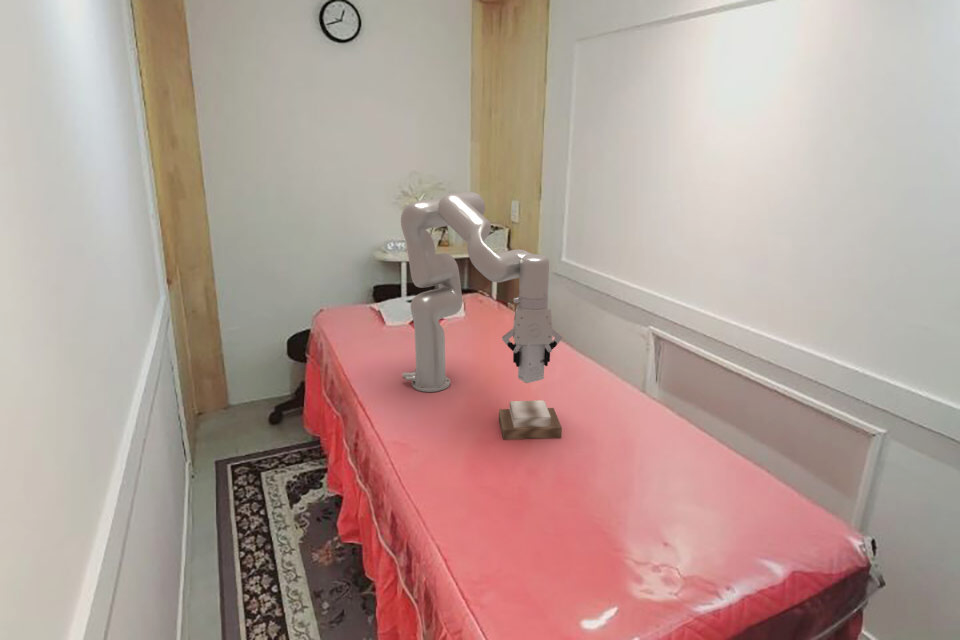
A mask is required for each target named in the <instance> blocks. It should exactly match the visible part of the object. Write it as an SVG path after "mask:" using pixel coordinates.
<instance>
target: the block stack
mask: <svg viewBox="0 0 960 640" xmlns="http://www.w3.org/2000/svg"><path fill="white" fill-rule="evenodd" d="M498 420H499V426H500V431H501V435H502V439H503V440H531V439H562V434H563V433H562V432H563V431H562V430H563V428H562V427H563V426H562V425H561V423H560V420H559V418H558V415H557V413H556V411H555V408H554V407H548V406H547V403H546V402H545V400H543V399H542V400H541V399H540V400H512V401H511V400H510V401H509V408H504V409H503V408H501V409H498Z"/></svg>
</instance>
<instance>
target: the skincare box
mask: <svg viewBox="0 0 960 640" xmlns="http://www.w3.org/2000/svg"><path fill="white" fill-rule="evenodd" d="M519 353H520V360H519V367H517V369H518V371H517V378H518V379H519V380H520V381H522V382H523V383H525V384H531V383H534V382H538V381H541V380H543V379H544V378H545V365H544V359H545V346H544V345H530V341H528V345H521V347H520V349H519Z"/></svg>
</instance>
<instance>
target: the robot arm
mask: <svg viewBox="0 0 960 640" xmlns="http://www.w3.org/2000/svg"><path fill="white" fill-rule="evenodd" d="M485 212H486V204H485V201H484V199H483V197H482V196H481V195H480V194H479V193H476V192H474V191H463V192H453V193H449V194H446V195H444V196H443V197H440V198H431V199H430V198H429V199H422V200H417V201H413V202H411V203H409V204H407V205H406V206H405V207H404V209H403V210H402V213H401V217H400V227H401V230H402V233H403V234H402V235H403V237H404V239H405V240H404V241H405V243H406V248H407V257H408V263H409V270H410V276H411V280H412V283H413V285H414V286H415V287H417V288H423V289H424V288H430V287H433V286H437V285H438V288H436V289H431V290H427V291H423V292H420V293H418V294H416V295H415V296H414V297H412V298H413V299H411V301H410V312H411V313H410V314H411V316H412V321H413V326H414V327H413V328H414V343H415V345H414V347H415V348H414V349H415V350H414V351H415V370H414V371H412V372H402V379H405V381H406V382H407V381H411V386H412V388H414V389H415V390H417V391H419V392H423V393H435V392H440V391H444V390H446V389H447V388H449V386H450V385H451V379H450V378H449V377H448V376H446V340H445V339H446V337H445V331H444V328H443V327H442V325H441V323H440V320H442V319H443V318H447V317H448V318H449V317H452V316H454V315H457V314H458V313H459V312H460V311H461V310H462V306H463V294H462V287H461V279H460V272H459V271H460V270H459V269H460V268H459V266H458V263H457V261H456V260H455V258H454V257H453V256H452V255H451V254H449V253H445V252H444V253H443V252H442V253H441V252H440V253H437V252H436V246H435V241H434V238H433V237H432V235H431V234H430V232H429V231H428V229H434V228H441V227H448V226H449V228H452V230H453V231H454V232H456V234H458V235H459V236H460V238H462V240H464V241H465V242H466V245H467V246H466V247H467V255H468V258H469V260H470V262H471V264H472V265H473V266H474V268H475V269H476V270H477V271H478V272H480V274H482V276H484V277H485V278H486V279H487V280H489V281H490V282H493V283H503V282H506V281H511V280H515V279H519V283H518V284H519V287H518V288H519V291H518V292H519V293H518V296H517V297H513V303H514V304H517V305H516V308H515V312H514V320H513V327H512V329H510V330H508V332H506V333H505V334H504V335H502V337H501V339H502V341H503V342H504V343H505V345H507V347H508V348H509V349H510V350H511V351H512V353H513V355H512V358H513V359H512V360H513V361H512V362H513V363H515V367H516V368H518V367H519V360H520V353H519V349H520V347H521V345H528V341H530V345H544V346H545V359H544V367H548V366H549V363H550V361H551V352H552V351H553V349H554V348H556V347H557V345H558V344H560V342H561V341H562V340H563V337H562V335H561V334H560V333H559V332H557V330H555V329H553V317H552V316H553V315H552V309H551V306H549V303H548V301H549V283H550V282H549V278H550V276H549V275H550V259H549V258H548V257H547V256H546V255H543V254H538V253H537V254H536V253H535V254H534V253H531V252H529V251H527V250H524V249H519V248H518V249H512V250H511V249H510V250H507V251H501V252H497V253H495V252H494V251H493V250H492V249H491V248H490V247H489V246H488V245H487V244H486V243H485V241H486V240H487V238H488V236H489V235H490V233H491V229H492V225H491V223H490V221H489V220H488V219H487V218H486V217H485V216H484V214H485ZM512 337H513V340H514V341H513V342H512V341H511V340H510V338H512ZM553 337H554V339H553Z"/></svg>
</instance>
